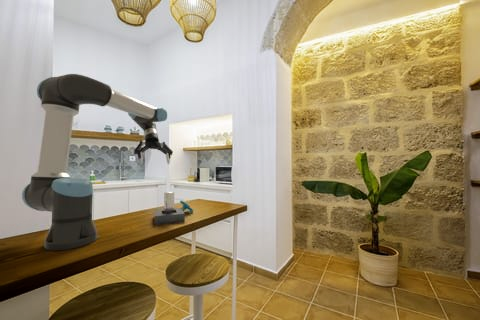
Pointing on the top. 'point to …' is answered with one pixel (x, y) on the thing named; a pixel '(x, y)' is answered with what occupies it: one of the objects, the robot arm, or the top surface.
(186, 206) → the teal irregular piece
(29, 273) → the top surface
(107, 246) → the top surface
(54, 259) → the top surface
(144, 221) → the top surface
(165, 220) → the block
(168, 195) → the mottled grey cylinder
